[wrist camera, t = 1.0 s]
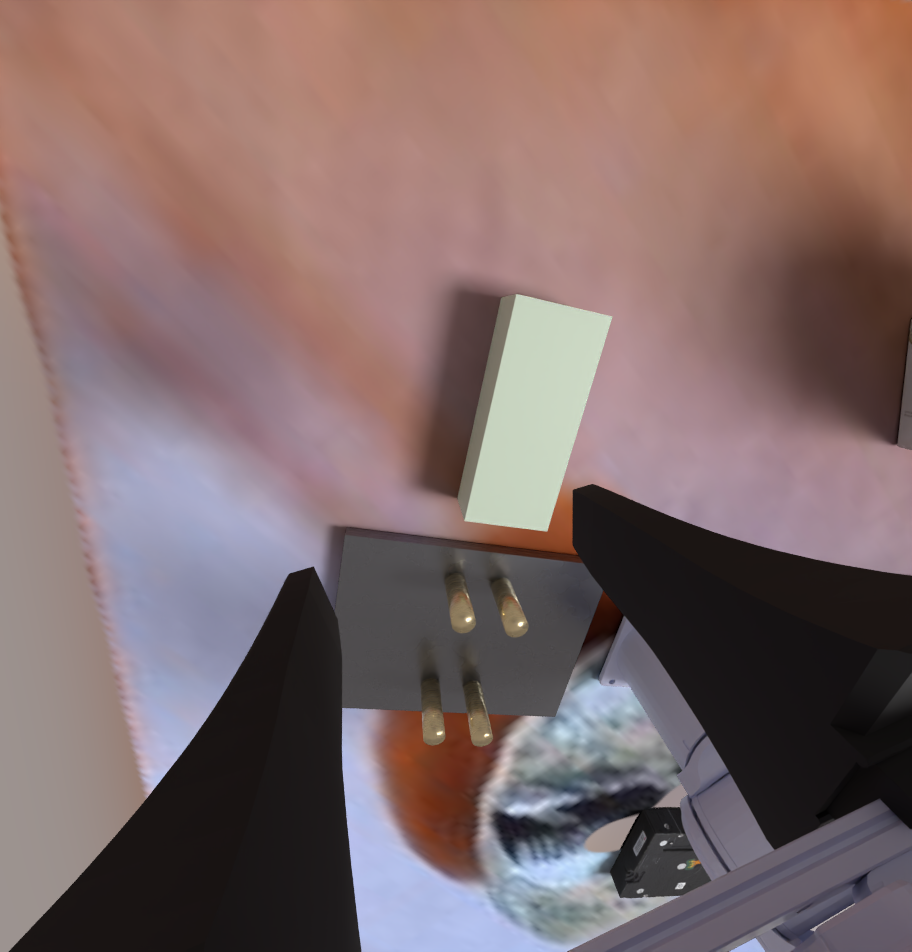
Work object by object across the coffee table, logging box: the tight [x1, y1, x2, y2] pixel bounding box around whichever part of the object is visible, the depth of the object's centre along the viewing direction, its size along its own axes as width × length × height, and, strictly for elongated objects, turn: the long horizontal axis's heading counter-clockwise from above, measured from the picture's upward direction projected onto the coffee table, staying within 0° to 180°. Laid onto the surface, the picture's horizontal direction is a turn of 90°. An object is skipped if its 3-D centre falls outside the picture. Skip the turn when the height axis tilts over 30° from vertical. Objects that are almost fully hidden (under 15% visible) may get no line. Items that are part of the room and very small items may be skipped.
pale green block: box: [457, 294, 612, 531], centre depth 23 cm, size 5×12×4 cm, turn 168°
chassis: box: [335, 527, 603, 746], centre depth 27 cm, size 18×14×5 cm
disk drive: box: [610, 807, 712, 898], centre depth 43 cm, size 10×3×15 cm
